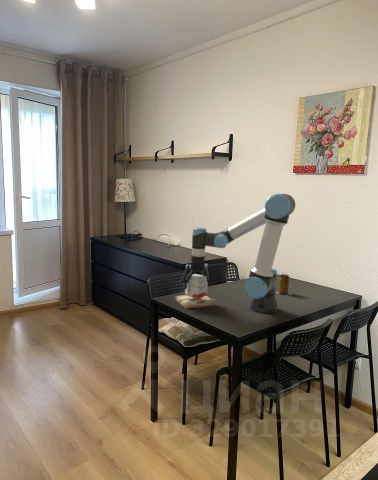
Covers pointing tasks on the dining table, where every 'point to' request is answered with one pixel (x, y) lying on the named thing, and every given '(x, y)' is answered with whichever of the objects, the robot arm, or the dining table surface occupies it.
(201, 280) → the ink box
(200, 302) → the shelf board
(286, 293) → the condiment
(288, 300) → the dining table surface
